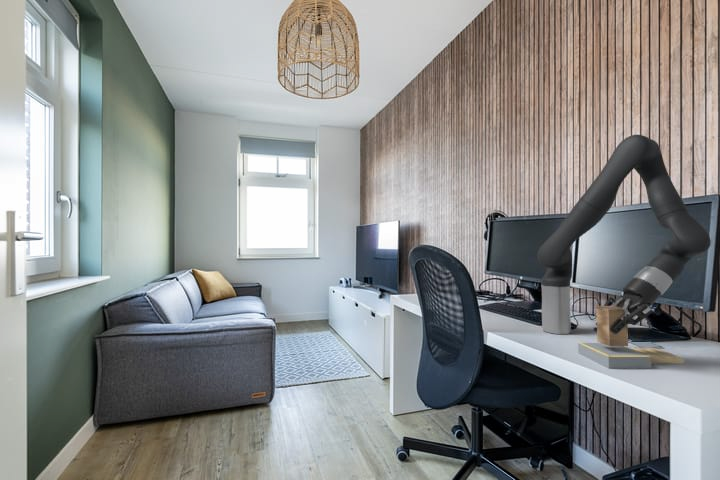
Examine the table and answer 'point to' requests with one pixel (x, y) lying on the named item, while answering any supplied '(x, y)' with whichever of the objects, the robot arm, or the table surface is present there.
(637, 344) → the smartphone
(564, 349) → the table surface
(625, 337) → the wooden block
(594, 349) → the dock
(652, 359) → the pallet
